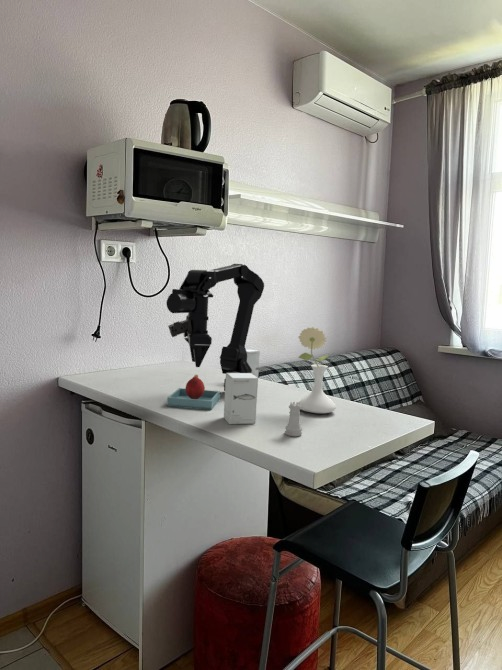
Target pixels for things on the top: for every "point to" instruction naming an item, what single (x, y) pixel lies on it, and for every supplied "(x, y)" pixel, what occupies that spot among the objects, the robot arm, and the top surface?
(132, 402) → the top surface
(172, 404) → the tray
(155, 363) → the top surface
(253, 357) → the skincare box
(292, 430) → the rook chess piece
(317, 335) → the flower in vase
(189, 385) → the onion
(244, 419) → the supplement box
